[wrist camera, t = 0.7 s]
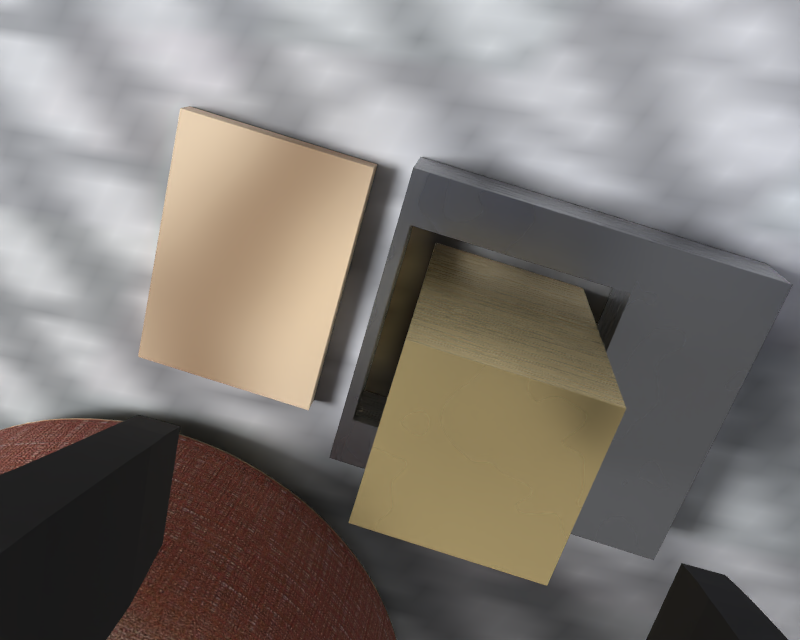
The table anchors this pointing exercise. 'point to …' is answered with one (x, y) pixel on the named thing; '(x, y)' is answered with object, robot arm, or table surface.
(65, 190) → the table surface
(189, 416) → the table surface
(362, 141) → the table surface
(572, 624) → the table surface
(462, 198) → the grey square frame
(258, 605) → the planter
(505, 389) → the brushed brass bar
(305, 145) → the coaster
